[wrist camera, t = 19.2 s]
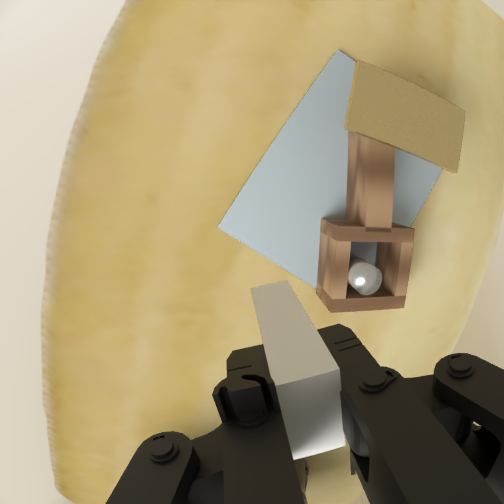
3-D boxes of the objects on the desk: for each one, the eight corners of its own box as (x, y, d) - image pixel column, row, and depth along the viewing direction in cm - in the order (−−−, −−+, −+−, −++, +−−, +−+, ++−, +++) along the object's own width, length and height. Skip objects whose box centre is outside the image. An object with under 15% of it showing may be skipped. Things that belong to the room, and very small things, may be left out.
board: (351, 310, 40) (353, 312, 40) (217, 226, 37) (217, 227, 36) (450, 148, 37) (452, 148, 36) (336, 51, 33) (338, 49, 32)
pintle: (342, 276, 39) (370, 300, 31) (324, 263, 39) (349, 286, 30) (356, 255, 39) (387, 275, 30) (338, 243, 38) (366, 260, 30)
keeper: (409, 171, 37) (457, 172, 27) (316, 140, 35) (346, 128, 26) (418, 121, 36) (465, 111, 26) (327, 86, 34) (359, 59, 24)
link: (381, 290, 39) (403, 308, 34) (315, 293, 39) (330, 312, 33) (392, 124, 35) (418, 117, 29) (323, 115, 34) (341, 104, 28)
